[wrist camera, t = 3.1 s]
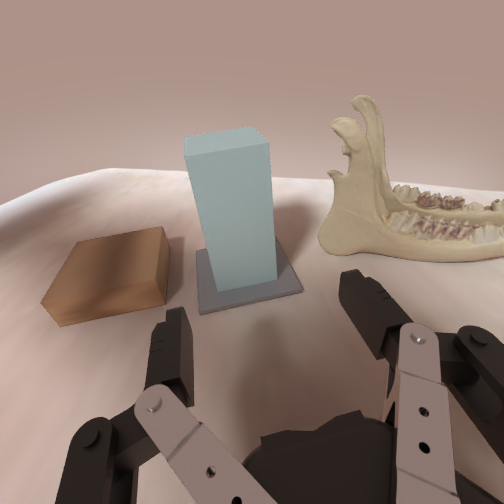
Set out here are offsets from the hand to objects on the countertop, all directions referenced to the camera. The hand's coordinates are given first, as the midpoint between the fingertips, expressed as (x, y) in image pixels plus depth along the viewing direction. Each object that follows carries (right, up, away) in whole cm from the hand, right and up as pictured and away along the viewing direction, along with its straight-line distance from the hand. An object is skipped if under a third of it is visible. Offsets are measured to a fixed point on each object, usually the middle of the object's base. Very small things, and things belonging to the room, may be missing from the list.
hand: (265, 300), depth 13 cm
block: (-2, +1, +13) cm, 13 cm away
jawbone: (+19, +3, +13) cm, 23 cm away
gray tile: (-2, +1, +13) cm, 13 cm away
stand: (-14, -1, +14) cm, 19 cm away
